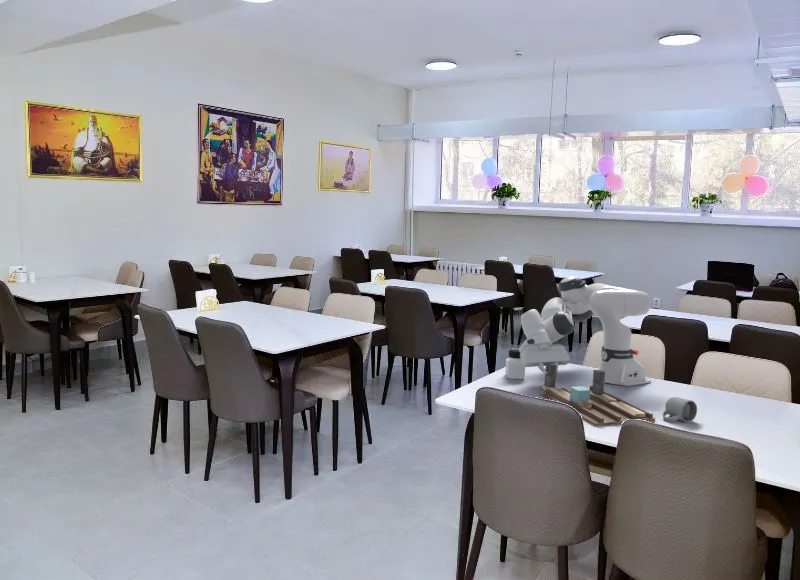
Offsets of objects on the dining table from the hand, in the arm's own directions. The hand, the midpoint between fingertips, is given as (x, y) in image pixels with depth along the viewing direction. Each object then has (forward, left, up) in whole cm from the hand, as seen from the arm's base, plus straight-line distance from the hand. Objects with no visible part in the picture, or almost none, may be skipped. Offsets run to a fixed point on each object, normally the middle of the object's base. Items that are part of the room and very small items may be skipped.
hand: (551, 374), depth 253 cm
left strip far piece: (-13, +30, -6) cm, 33 cm away
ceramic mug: (-27, +39, -8) cm, 48 cm away
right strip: (0, +11, -6) cm, 13 cm away
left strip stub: (-13, +16, -6) cm, 21 cm away
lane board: (-6, +21, -7) cm, 23 cm away
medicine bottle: (+3, -24, -8) cm, 25 cm away
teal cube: (0, +20, -5) cm, 21 cm away
